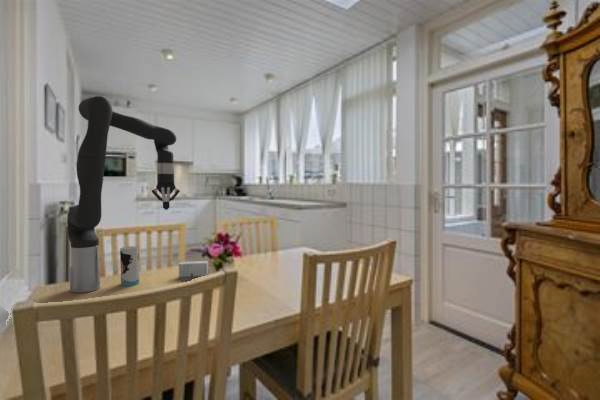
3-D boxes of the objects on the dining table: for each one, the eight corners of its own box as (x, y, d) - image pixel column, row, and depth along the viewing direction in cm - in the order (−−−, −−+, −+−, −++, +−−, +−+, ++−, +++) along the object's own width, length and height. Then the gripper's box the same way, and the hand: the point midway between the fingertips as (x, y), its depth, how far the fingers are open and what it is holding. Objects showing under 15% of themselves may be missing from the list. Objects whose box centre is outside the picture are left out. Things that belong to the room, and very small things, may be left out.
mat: (181, 281, 140) (181, 280, 140) (182, 271, 156) (182, 270, 156) (210, 279, 144) (210, 278, 144) (208, 269, 159) (208, 268, 159)
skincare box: (178, 264, 145) (206, 262, 147) (180, 261, 149) (208, 260, 151) (178, 277, 145) (207, 276, 147) (181, 274, 150) (208, 273, 151)
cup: (134, 280, 142) (134, 245, 141) (142, 283, 138) (141, 247, 137) (118, 283, 137) (117, 248, 136) (125, 287, 132) (124, 250, 132)
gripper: (149, 172, 151) (150, 210, 152) (180, 173, 155) (180, 209, 156) (151, 173, 158) (152, 209, 159) (180, 173, 162) (181, 208, 163)
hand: (166, 209), depth 158 cm, fingers closed
